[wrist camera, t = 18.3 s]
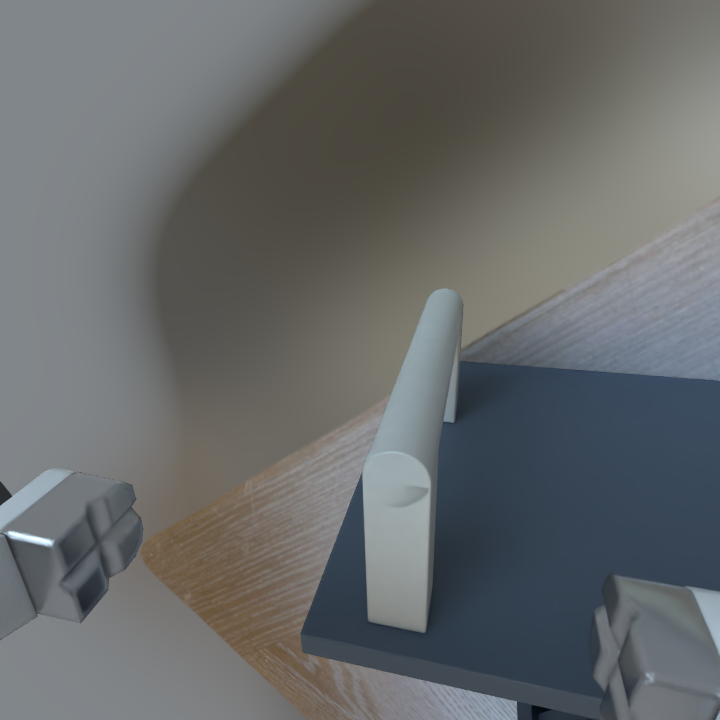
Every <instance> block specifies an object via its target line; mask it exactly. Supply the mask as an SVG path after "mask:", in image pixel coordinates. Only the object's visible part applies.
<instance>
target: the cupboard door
mask: <svg viewBox="0 0 720 720" xmlns="http://www.w3.org/2000/svg"><path fill="white" fill-rule="evenodd" d="M462 319H463V302H462V299H461V297H460V296H459V294H457V293H456V292H455V291H453V290H450V289H439V290H437V291H434V292H433V293H432V294H431V295H430V296H429V298H428V300H427V302H426V305H425V308H424V310H423V313H422V316H421V318H420V321H419V323H418V326H417V329H416V331H415V334H414V336H413V339H412V342H411V344H410V347H409V349H408V352H407V355H406V357H405V360H404V362H403V365H402V368H401V370H400V373H399V375H398V378H397V381H396V383H395V386H394V388H393V391H392V394H391V396H390V399H389V402H388V404H387V407H386V409H385V412H384V415H383V417H382V420H381V422H380V425H379V428H378V430H377V433H376V435H375V438H374V441H373V443H372V446H371V449H370V451H369V454H368V456H367V459H366V462H365V464H364V467H363V471H362V474H361V476H360V479H359V481H358V484H357V487H356V489H355V492H354V495H353V497H352V500H351V502H350V505H349V508H348V510H347V513H346V516H345V518H344V521H343V523H342V526H341V529H340V531H339V534H338V537H337V539H336V542H335V544H334V547H333V550H332V552H331V555H330V557H329V560H328V563H327V565H326V568H325V571H324V573H323V576H322V578H321V581H320V584H319V586H318V589H317V592H316V594H315V597H314V599H313V602H312V605H311V607H310V610H309V613H308V615H307V618H306V620H305V623H304V626H303V628H302V631H301V634H300V635H301V643H302V651H303V653H306V654H311V655H315V656H320V657H324V658H328V659H333V660H337V661H342V662H346V663H351V664H355V665H359V666H364V667H368V668H373V669H377V670H381V671H386V672H390V673H395V674H399V675H403V676H408V677H412V678H417V679H421V680H425V681H430V682H434V683H439V684H443V685H448V686H452V687H456V688H461V689H465V690H470V691H474V692H478V693H483V694H487V695H492V696H496V697H500V698H505V699H509V700H514V701H518V702H522V703H527V704H531V705H536V706H540V707H544V708H549V709H553V710H558V711H562V712H567V713H571V714H575V715H580V716H584V717H589V718H593V719H597V720H601V717H600V712H599V708H600V705H601V702H602V699H603V697H604V694H605V692H604V690H603V689H602V688H601V687H600V685H599V684H598V683H597V681H596V680H595V679H594V678H593V673H592V667H591V661H590V650H589V638H590V626H591V622H592V618H593V615H594V611H595V610H596V609H598V608H599V607H601V606H603V605H605V604H604V599H603V595H602V590H601V589H602V586H603V583H604V581H605V578H606V577H607V575H608V574H609V573H610V572H612V573H617V574H623V575H628V576H634V577H640V578H645V579H651V580H657V581H662V582H668V583H674V584H679V585H682V586H690V587H696V588H702V589H707V590H713V591H719V592H720V381H713V380H700V379H687V378H673V377H660V376H647V375H633V374H620V373H607V372H594V371H580V370H567V369H554V368H540V367H527V366H514V365H500V364H487V363H474V362H461V361H460V351H461V333H462Z"/></svg>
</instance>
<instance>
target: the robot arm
mask: <svg viewBox="0 0 720 720" xmlns="http://www.w3.org/2000/svg"><path fill="white" fill-rule="evenodd" d="M135 500H136V497H135V493H134V490H133V486H132V485H131V484H128V483H126V482H123V481H118V480H114V479H109V478H105V477H100V476H95V475H91V474H86V473H82V472H75V471H70V470H66V469H61V468H54V469H50V470H47V471H45V472H44V473H42V474H41V475H40V476H38V477H37V478H36V479H35V480H33V481H32V482H31V483H29V484H28V485H27V486H25V487H24V488H23V489H22V490H20V491H19V492H18V493H17V494H15V495H14V496H12V497H11V498H10V499H8V500H7V501H6V502H5V503H3V504H2V505H1V506H0V640H1V639H3V638H4V637H6V636H7V635H9V634H11V633H12V632H14V631H15V630H17V629H19V628H20V627H22V626H23V625H25V624H26V623H28V622H30V621H31V620H33V619H34V618H36V617H37V614H42V615H47V616H51V617H55V618H59V619H64V620H68V621H73V622H77V623H81V622H82V621H83V620H84V619H85V618H86V616H87V615H88V614H89V613H90V612H91V611H92V609H93V608H94V607H95V606H96V604H97V603H98V602H99V601H100V600H101V598H102V597H103V596H104V595H105V594H106V592H107V591H108V585H109V578H110V577H112V576H114V575H116V574H118V573H120V572H122V571H124V570H125V569H126V568H127V567H128V565H129V564H130V563H131V561H132V560H133V559H134V558H135V557H136V554H137V552H138V549H139V547H140V545H141V542H142V536H143V525H142V521H141V517H140V516H139V515H138V514H137V513H136V512H135V511H134V509H133V508H132V505H133V504H134V502H135ZM601 590H602V595H603V599H604V604H605V605H603V606H601V607H599V608H598V609H596V610H595V611H594V615H593V618H592V622H591V626H590V638H589V650H590V661H591V667H592V673H593V678H594V679H595V680H596V681H597V683H598V684H599V685H600V687H601V688H602V689H603V690H604V692H605V694H604V697H603V699H602V702H601V705H600V708H599V712H600V717H601V720H720V592H719V591H713V590H707V589H702V588H696V587H690V586H682V585H679V584H674V583H668V582H662V581H657V580H651V579H645V578H640V577H634V576H628V575H623V574H617V573H612V572H610V573H609V574H608V575H607V577H606V578H605V581H604V583H603V586H602V589H601Z"/></svg>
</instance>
